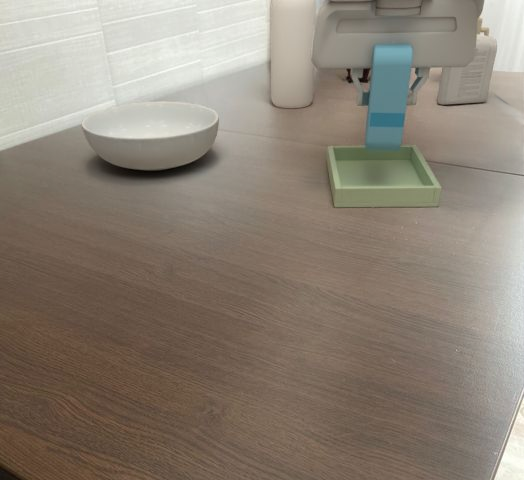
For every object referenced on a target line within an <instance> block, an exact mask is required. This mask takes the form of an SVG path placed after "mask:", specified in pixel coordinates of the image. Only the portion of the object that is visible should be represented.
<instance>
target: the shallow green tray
mask: <svg viewBox="0 0 524 480" xmlns="http://www.w3.org/2000/svg"><path fill="white" fill-rule="evenodd" d="M326 147H327V148H326V149H327V150H326V166H327V173H328V178H329V185H330V189H331V196H332V201H333V202H332V203H333V207H334V208H437V207H439V204H440V201H441V200H440V199H441V194H442V186H441V184H440V182H439V181H438V179H437V177H436V176H435V174H434V172H433V171H432V169H431V167H430V166H429V164H428V162H427V160H426V159H425V157H424V156H423V154H422V152H421V150H420V149H419V147H418V146H417V144H401V148H400V150H399V151H373V150H365V145H327V146H326Z"/></svg>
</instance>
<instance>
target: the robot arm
mask: <svg viewBox="0 0 524 480" xmlns="http://www.w3.org/2000/svg"><path fill="white" fill-rule="evenodd" d="M484 5H485V0H323V2H321V4H319V7H318V9H317V10H316V18H315V23H314V29H313V36H312V45H311V62H312V63H313V65H314V68H316V69H317V70H346V69H351V72H350V75H351V78H352V80H353V82H352V83H353V85H354V86H355V88H356V91H357V93H356V105H357V107H368V106H369V95H370V91H369V88H363V86H362V84H361V81H359V80H358V77H359V78H362V77H363V69H367V68H372V64H373V53H374V46H375V45H376V44H411V46H412V49H413V57H412V66H411V69H414V74H415V75H416V76H417V77H416V78H415V80H414V81H413V83H412V85H411V86H410V87H409V89H408V97H407V105H406V106H416V104H417V99H418V92H419V91H421V89H422V87H423V86H424V84H425V83H426V82H427V80H428V79H429V76H430V70H431V68H432V69H433V68H436V69H437V68H442V67H466V66H467V65H468V64H469V63H470V62H471V61H472V60H473V58H474V55H475V48H476V39H477V21H478V18H481V15H482V14H483V10H484Z"/></svg>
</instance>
